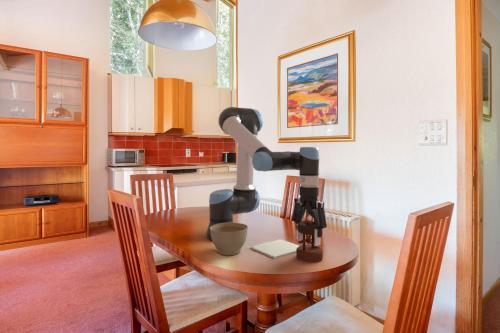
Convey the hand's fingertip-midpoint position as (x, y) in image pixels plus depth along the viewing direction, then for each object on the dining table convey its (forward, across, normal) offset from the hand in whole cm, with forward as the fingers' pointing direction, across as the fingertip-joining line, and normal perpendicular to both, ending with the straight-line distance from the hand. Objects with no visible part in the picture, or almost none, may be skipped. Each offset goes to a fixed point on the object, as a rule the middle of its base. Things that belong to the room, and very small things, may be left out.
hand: (308, 242), depth 119 cm
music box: (+7, 0, 0) cm, 7 cm away
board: (+7, -16, -2) cm, 17 cm away
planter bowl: (+7, -26, -21) cm, 34 cm away
